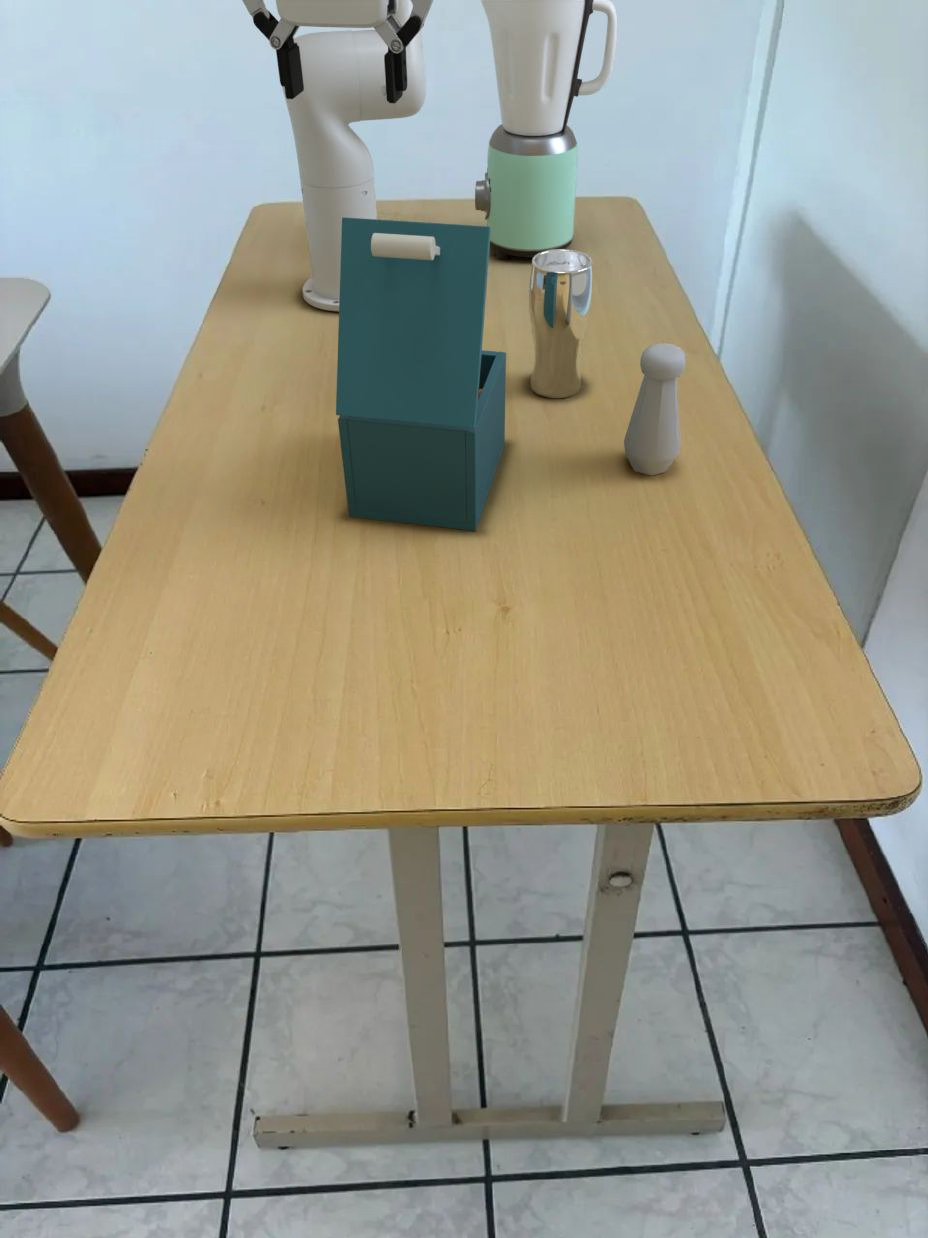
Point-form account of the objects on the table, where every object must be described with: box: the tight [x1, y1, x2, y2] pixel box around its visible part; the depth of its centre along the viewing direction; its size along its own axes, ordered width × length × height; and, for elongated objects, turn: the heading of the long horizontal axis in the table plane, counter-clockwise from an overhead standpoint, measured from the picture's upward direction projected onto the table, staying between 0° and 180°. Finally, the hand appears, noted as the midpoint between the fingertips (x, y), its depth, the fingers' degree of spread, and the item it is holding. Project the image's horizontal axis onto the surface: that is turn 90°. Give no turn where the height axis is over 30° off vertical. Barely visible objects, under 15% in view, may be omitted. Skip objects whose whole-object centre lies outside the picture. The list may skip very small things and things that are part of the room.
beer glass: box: [528, 248, 594, 399], centre depth 108 cm, size 7×7×15 cm
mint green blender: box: [474, 0, 619, 260], centre depth 134 cm, size 19×13×35 cm
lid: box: [335, 217, 491, 429], centre depth 81 cm, size 17×13×5 cm
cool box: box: [337, 349, 507, 532], centre depth 95 cm, size 16×13×11 cm
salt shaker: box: [623, 342, 687, 476], centre depth 96 cm, size 6×6×13 cm
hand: (344, 97), depth 89 cm, fingers open, 9 cm apart
